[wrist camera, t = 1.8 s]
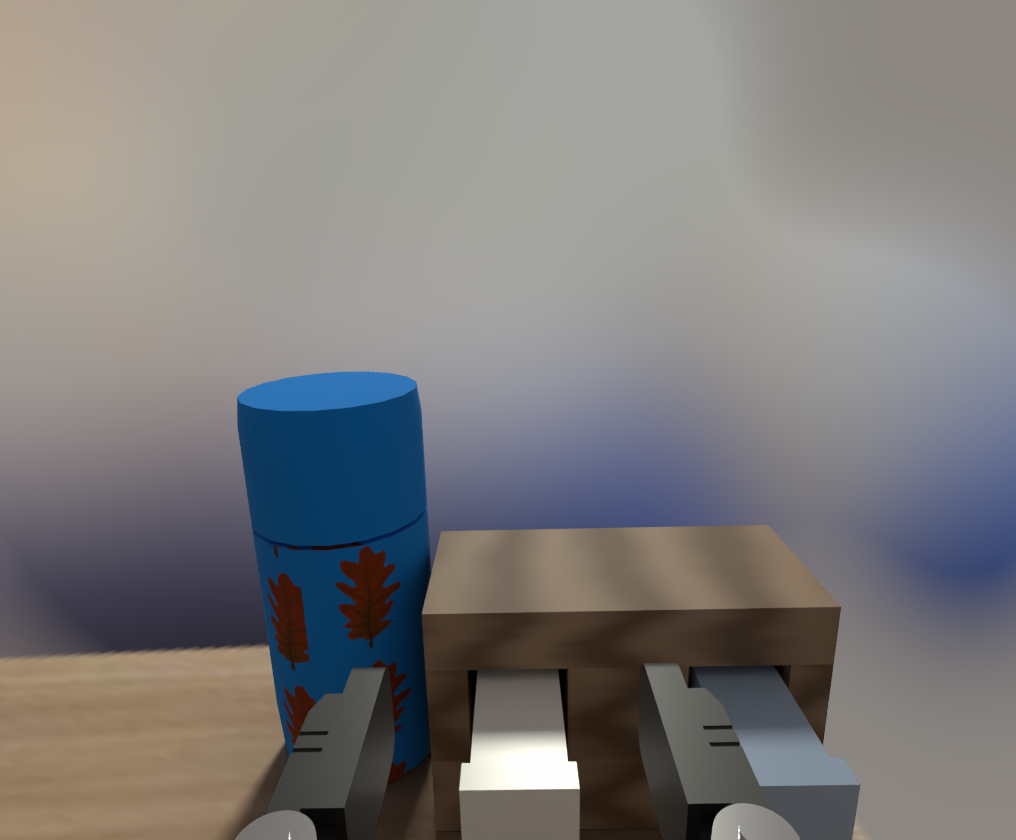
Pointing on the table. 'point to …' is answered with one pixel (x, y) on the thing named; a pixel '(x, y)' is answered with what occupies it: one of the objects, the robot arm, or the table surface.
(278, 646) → the thermos
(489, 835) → the key white
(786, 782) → the key blue
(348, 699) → the robot arm
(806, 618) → the housing
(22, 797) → the table surface
